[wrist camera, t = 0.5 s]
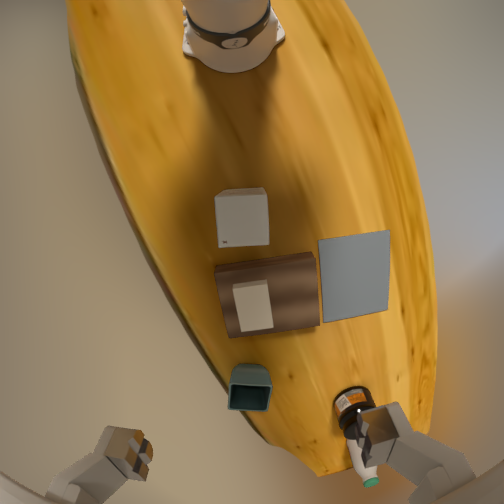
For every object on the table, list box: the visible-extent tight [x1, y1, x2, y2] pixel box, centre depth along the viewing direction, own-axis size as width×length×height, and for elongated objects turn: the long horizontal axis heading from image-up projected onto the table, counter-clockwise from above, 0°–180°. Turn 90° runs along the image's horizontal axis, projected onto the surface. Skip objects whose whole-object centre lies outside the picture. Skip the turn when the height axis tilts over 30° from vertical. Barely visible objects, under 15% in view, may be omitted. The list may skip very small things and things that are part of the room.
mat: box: [318, 230, 390, 323], centre depth 54 cm, size 18×15×1 cm
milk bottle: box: [347, 439, 379, 487], centre depth 62 cm, size 8×8×20 cm
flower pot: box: [228, 364, 273, 412], centre depth 57 cm, size 9×9×9 cm
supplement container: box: [334, 386, 376, 440], centre depth 59 cm, size 10×10×12 cm
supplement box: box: [214, 187, 269, 248], centre depth 44 cm, size 7×7×13 cm
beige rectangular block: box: [232, 279, 274, 332], centre depth 51 cm, size 9×6×2 cm, turn 9°
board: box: [214, 252, 320, 338], centre depth 53 cm, size 14×18×4 cm
